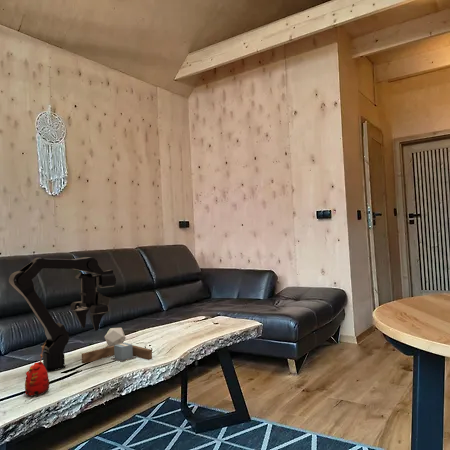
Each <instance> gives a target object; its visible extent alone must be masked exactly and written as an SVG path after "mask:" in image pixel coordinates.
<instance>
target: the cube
mask: <svg viewBox="0 0 450 450" xmlns="http://www.w3.org/2000/svg"><path fill="white" fill-rule="evenodd" d="M132 345H133V344H131V343H127V342H123V343H122V344H118V345H114V355H113V356H114V358H115V359H119V360H125V359H129V358H132V357H133V347H132Z"/></svg>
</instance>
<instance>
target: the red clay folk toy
mask: <svg viewBox="0 0 450 450" xmlns="http://www.w3.org/2000/svg"><path fill="white" fill-rule="evenodd" d="M45 344H46V343H45ZM45 344H44V345H43V346H42V347H41V346H39V347H40V348H41V353H40V360H39V361H38V362H34V364H32V365H31V366H30V367H29V369H28V370H27V371H26V372H25V379H24V380H25V381H24V389H25V390H24V391H25V395H26V396H28V397H34V396H38V395H39V396H41V395H43V394H44V393H46V392H47V391H49V388H50V379H49V374H48V371H47V370H46V368H45V366H44V365H43V361H42V359H43V352H44V351H43V349H44V348H45V347H44V346H45ZM46 347H47V346H46Z"/></svg>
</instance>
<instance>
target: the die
mask: <svg viewBox="0 0 450 450" xmlns="http://www.w3.org/2000/svg"><path fill="white" fill-rule="evenodd" d="M126 339H127V338H126V335H125V332H124V330H123V328H122V327H111V328H109V330H108V331H107V333H106V334H105V335H104V340H105V341H106V344H107V347H110V346H114V345H118V344H122V343H125V340H126Z"/></svg>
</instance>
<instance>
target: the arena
mask: <svg viewBox="0 0 450 450" xmlns="http://www.w3.org/2000/svg"><path fill="white" fill-rule="evenodd" d="M132 347H133V357H132V358H129V359H125V360H119V359H115V357H113V356H114V346H110V347H108V346H106V347H101V348H99V349H98V348H97V349H95V350H91V351H86V352H82V353H81V363H82V364H87V363H91V362H95V361H99V360H102V359H105V358H106V359H107V358H110V357H111V358H110V360H112V359H113V360H112V361H116V360H117V362H119V361H120V363H123V362H127V361H129V360H134V359H137V358H141V359H144V360H147V361H150V360H152V359H153V350H152V348H151V349H150V348H145V347H141V346H137V345H134V344H132ZM126 360H127V361H126Z"/></svg>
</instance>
